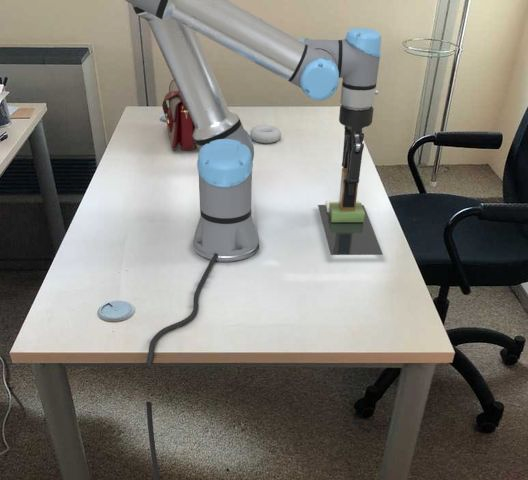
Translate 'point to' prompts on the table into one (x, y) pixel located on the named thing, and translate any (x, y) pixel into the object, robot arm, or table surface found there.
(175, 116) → the handbag
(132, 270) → the table surface
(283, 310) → the table surface
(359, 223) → the slate
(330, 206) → the scrub brush
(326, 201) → the eraser
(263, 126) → the donut
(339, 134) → the table surface
